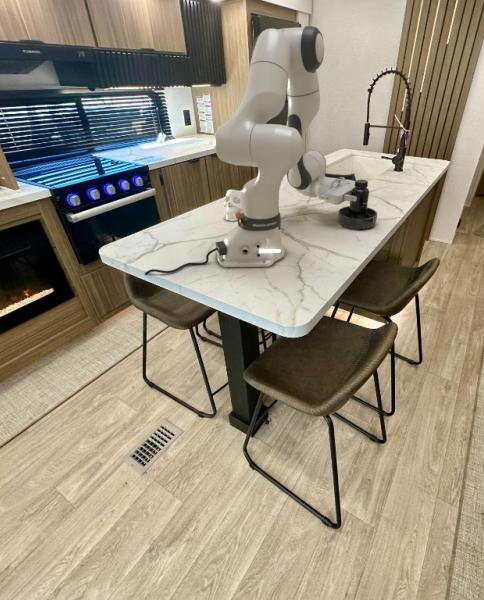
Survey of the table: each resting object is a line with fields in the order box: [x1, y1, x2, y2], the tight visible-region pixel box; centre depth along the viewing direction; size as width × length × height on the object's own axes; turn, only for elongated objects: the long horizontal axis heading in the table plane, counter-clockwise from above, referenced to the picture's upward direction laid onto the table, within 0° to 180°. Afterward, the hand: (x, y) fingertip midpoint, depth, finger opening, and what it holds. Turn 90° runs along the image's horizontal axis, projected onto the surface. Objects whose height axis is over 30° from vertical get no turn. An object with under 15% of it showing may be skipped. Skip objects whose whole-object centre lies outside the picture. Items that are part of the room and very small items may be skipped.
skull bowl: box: [223, 189, 244, 222], centre depth 137 cm, size 10×14×12 cm
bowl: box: [337, 205, 379, 230], centre depth 130 cm, size 15×15×4 cm
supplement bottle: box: [349, 179, 370, 215], centre depth 125 cm, size 7×7×12 cm
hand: (361, 196), depth 124 cm, fingers closed on supplement bottle, 7 cm apart
